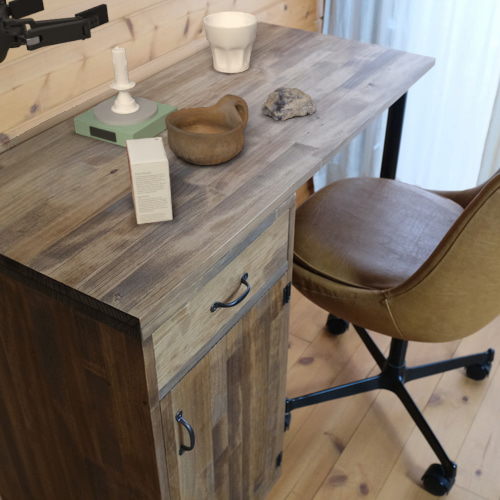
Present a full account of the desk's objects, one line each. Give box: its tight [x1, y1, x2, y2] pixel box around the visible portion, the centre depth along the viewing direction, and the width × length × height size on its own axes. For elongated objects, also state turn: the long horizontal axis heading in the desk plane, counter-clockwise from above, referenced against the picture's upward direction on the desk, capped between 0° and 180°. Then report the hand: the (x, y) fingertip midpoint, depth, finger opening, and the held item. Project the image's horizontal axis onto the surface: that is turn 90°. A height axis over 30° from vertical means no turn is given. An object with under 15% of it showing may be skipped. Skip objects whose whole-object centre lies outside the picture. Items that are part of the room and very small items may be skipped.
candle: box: [109, 45, 140, 114], centre depth 120 cm, size 5×5×12 cm
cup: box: [202, 10, 259, 74], centre depth 149 cm, size 12×12×11 cm
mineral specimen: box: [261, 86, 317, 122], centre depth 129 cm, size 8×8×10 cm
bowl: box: [165, 93, 249, 166], centre depth 115 cm, size 18×14×10 cm
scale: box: [72, 94, 178, 148], centre depth 124 cm, size 14×14×4 cm
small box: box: [125, 136, 174, 225], centre depth 98 cm, size 8×6×10 cm
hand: (73, 6), depth 104 cm, fingers open, 13 cm apart
